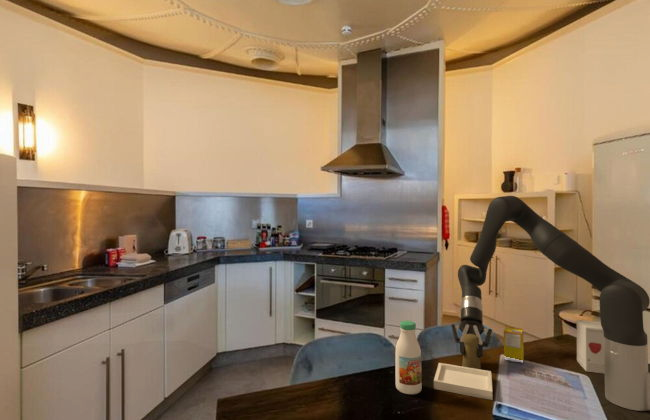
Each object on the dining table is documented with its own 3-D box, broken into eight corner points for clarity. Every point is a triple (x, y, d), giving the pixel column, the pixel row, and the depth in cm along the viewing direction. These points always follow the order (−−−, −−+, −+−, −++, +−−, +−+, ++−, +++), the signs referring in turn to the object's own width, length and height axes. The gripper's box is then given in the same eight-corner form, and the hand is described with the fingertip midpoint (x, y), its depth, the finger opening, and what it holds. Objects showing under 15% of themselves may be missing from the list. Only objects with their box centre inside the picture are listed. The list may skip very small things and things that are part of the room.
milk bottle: (390, 389, 103) (390, 322, 104) (403, 380, 109) (403, 317, 109) (413, 398, 98) (413, 328, 98) (426, 388, 104) (425, 322, 104)
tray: (491, 378, 109) (491, 371, 109) (492, 400, 96) (492, 391, 97) (439, 369, 116) (438, 362, 116) (433, 388, 103) (433, 380, 103)
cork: (478, 372, 114) (478, 339, 114) (459, 367, 117) (459, 335, 118) (482, 365, 119) (482, 334, 119) (464, 361, 122) (464, 330, 123)
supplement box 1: (523, 358, 125) (523, 328, 125) (523, 364, 120) (522, 332, 120) (505, 354, 128) (505, 325, 128) (504, 360, 123) (503, 330, 123)
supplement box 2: (585, 371, 114) (584, 326, 114) (576, 361, 122) (575, 319, 122) (619, 376, 111) (617, 329, 111) (607, 364, 119) (606, 321, 119)
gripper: (450, 303, 128) (448, 347, 117) (492, 307, 122) (494, 354, 111) (451, 314, 133) (449, 357, 122) (492, 318, 127) (494, 364, 116)
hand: (471, 355), depth 116 cm, fingers closed on cork, 4 cm apart
